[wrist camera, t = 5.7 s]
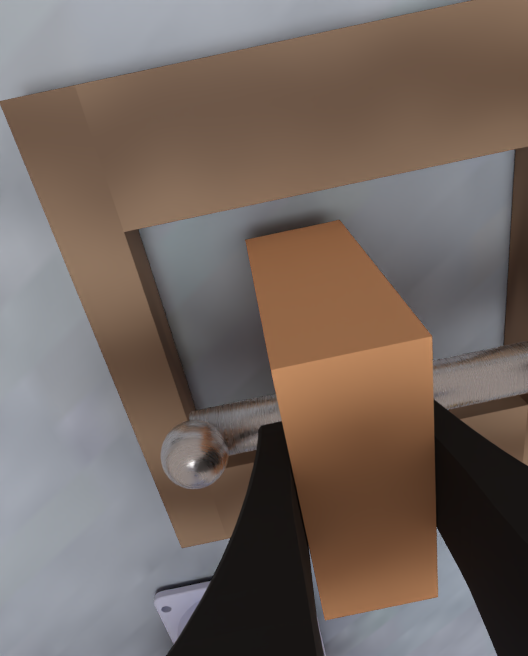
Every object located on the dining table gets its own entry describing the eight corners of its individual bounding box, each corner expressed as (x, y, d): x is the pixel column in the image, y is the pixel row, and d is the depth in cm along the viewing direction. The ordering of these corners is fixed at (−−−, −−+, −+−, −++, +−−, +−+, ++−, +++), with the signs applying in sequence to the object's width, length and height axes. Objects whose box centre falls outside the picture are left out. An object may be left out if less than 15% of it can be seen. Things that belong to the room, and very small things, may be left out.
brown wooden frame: (645, 414, 23) (680, 443, 22) (183, 511, 23) (181, 548, 22) (760, -62, 15) (835, -78, 13) (23, 96, 15) (-1, 101, 13)
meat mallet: (604, 294, 20) (818, 423, 13) (189, 382, 20) (178, 557, 13) (620, 196, 18) (883, 285, 11) (161, 293, 18) (131, 442, 11)
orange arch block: (361, 417, 19) (437, 596, 13) (286, 432, 19) (325, 620, 13) (339, 219, 16) (432, 336, 9) (245, 239, 16) (271, 369, 9)
